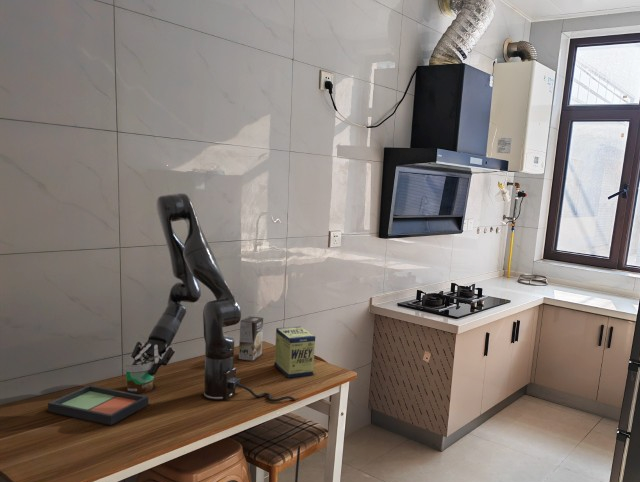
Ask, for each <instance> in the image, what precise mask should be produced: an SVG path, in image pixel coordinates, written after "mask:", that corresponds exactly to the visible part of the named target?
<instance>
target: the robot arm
mask: <svg viewBox="0 0 640 482" xmlns="http://www.w3.org/2000/svg"><path fill="white" fill-rule="evenodd" d="M155 206H156V211H157V216H158V219H159V223H160V226H161V230H162V233H163V237H164V240H165V243H166V246H167V249H168V254H169V259H170V265H171V272H172V275H173V277H174V278H176V279H178V280H180V281H178V282H176V283H174V284H173V285H172V286H171V287H170V290H169V294H168V298H167V303H166V305H165V308H164V309H163V312H162V314H161V315H160V317H158V320H157V321H156V322H155V324H154V326H153V328H152V330H151V332H150V333H149V335H148V339H147V341H146V342H140V341H137V342H136V344H135V345H134V348H133V351H132V353H131V355H130V357H131V358H132V359H133V362H132V364H131V365H133V364H134V363H136V362H137V361H140V360H144V359H147V358H148V357H155V364H154V363H153V365H152V367H151V369H150V371H149V375H151V376H154V377H155V375H156V374H157V372H158V370H159V369H160V367H161V366H164V367H166V366H167V365H168V364H169V362H170V360H171V359H172V357H173V356H174V354H175V350H174V348H173V347H170V346H171V344H172V342H173V341H174V339H175V336H176V335H177V333H178V331H179V329H180V327H181V325H182V322H183V320H184V318H185V316H186V315H187V308H186V307H185V306H184V305H183V304H181V303H182V302H183V303H191V304H192V303H197V302H198V301H199V300H200V298H201V297H202V289H201V285H200V283H202V285H203V286H205V287H206V288H208V289H209V291H210V292H211V293H212V295H213V297H214V298H215V300H209V301H207V302H206V303H205V304H204V307H203V311H202V324H203V327H202V328H203V330H202V331H203V338H204V339H203V340H204V343H205V345H204V346H205V347H204V379H203V381H204V382H203V384H204V385H203V386H204V387H203V388H204V389H203V397H204V398H205V399H206V400H207V399H208V400H211V401H227V400H229V399H230V398H232V397H233V396H235V395H236V389H237V388H238V387H239V388H241V389H244V390H246V391H248V392H249V393H250V394H251V395H252V396H253V397H255V398H257V399H258V398H262V397H265V396H267V400H268V401H270V402H273V403H274V402H280V401H284V400H288V399H289V400H292V401H293V402H297V399H296V398H295V397H293V396H291V395H285V396H281V397H277V398H272V397H271V394H270V393H269V392H263V393H260V394H257V393H255V392H254V391H253V390H252V389H251V388H249V387H247V386H245V385H244V384H241V378H239V377H237V368H236V367H234V365H235V338H234V336H233V337H232V336H230V335H228V334H224V331H223V330H224V328H226V327H227V328H228V327H231V326H235V325H237V324H240V321H241V320H242V310H241V307H240V304H239V302H238V300H237V298H236V296H235V295H234V293H233V292H232V290H231V288H230V286H229V285H228V282H227V281H226V279H225V277H224V275H223V273H222V271H221V269H220V267H219V265H218V263H217V259H216V257H215V255H214V253H213V251H212V248H211V247H210V244H209V242H208V240H207V238H206V235H205V234H204V232H203V229H202V227H201V224H200V221H199V218H198V216H197V213H196V210H195V207H194V204H193V202H192V200H191V198H190V197H189V195H188V194H186V193H184V192H180V193H172V194H164V195H160V196H158V197H157V199H156V205H155ZM178 221H179V222H180V221H184V222H185V224H186V227H187V232H186V238H185V241H184V242H183V241H182V240H181V239H180V237H179V236H178V235H177V233H176V232H175V230H174V227H173V224H172V223H173V222H178ZM300 455H301V445H298V447H297V453H296V464H295V477H294V482H298V481H299V469H300V468H299V467H300V457H301V456H300Z"/></svg>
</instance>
